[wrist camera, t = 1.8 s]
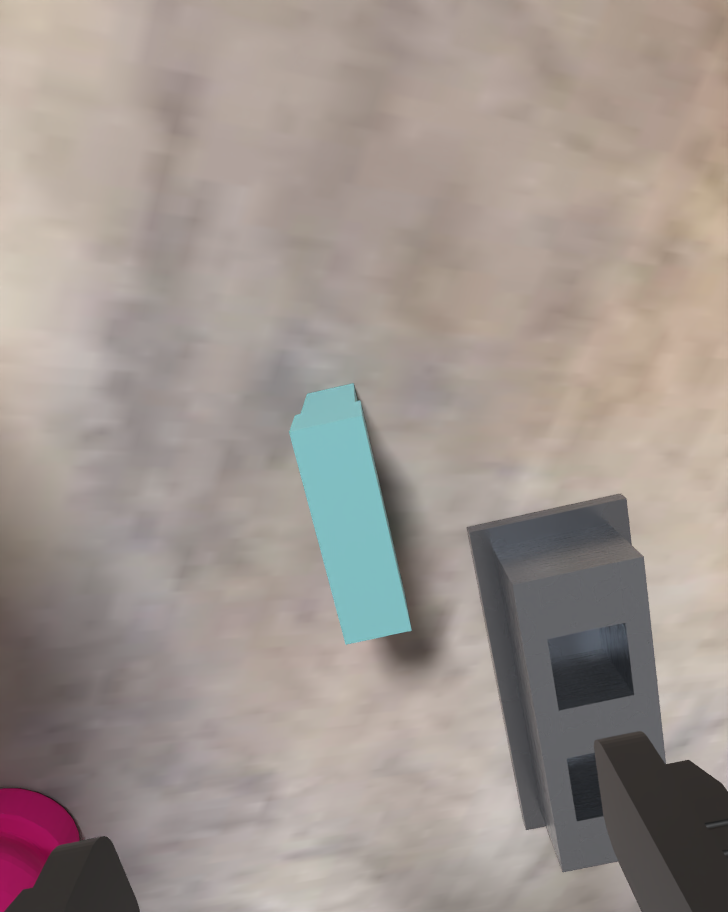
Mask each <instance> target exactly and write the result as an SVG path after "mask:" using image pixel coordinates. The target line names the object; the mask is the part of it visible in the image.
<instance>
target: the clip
mask: <svg viewBox="0 0 728 912" xmlns="http://www.w3.org/2000/svg"><path fill="white" fill-rule="evenodd" d="M289 433H290V437H291V441H292V445H293V448H294V452H295V456H296V460H297V463H298V467H299V471H300V475H301V478H302V482H303V486H304V490H305V493H306V497H307V501H308V505H309V508H310V512H311V516H312V520H313V524H314V527H315V531H316V535H317V539H318V542H319V546H320V550H321V554H322V557H323V561H324V565H325V569H326V572H327V576H328V580H329V584H330V587H331V591H332V595H333V599H334V602H335V606H336V610H337V614H338V617H339V621H340V625H341V629H342V632H343V636H344V640H345V644H346V645H347V644H351V643H356V642H361V641H365V640H370V639H375V638H379V637H384V636H389V635H393V634H398V633H403V632H408V631H412V630H411V624H410V619H409V613H408V608H407V603H406V597H405V593H404V588H403V584H402V580H401V575H400V571H399V567H398V562H397V558H396V554H395V549H394V545H393V540H392V536H391V532H390V527H389V523H388V519H387V514H386V510H385V506H384V501H383V497H382V493H381V488H380V484H379V480H378V475H377V471H376V466H375V462H374V458H373V453H372V449H371V445H370V440H369V436H368V432H367V427H366V423H365V419H364V414H363V410H362V406H361V401H358V400H357V396H356V392H355V387H354V383H352V384H348V385H344V386H339V387H335V388H330V389H326V390H322V391H317V392H313V393H309V394H307V396H306V399H305V402H304V405H303V408H302V411H301V414H299V415H295V417H294V420H293V423H292V425H291V428H290V431H289Z"/></svg>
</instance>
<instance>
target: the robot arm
mask: <svg viewBox="0 0 728 912" xmlns="http://www.w3.org/2000/svg"><path fill="white" fill-rule="evenodd" d="M594 752H595V759H596V766H597V773H598V781H599V788H600V795H601V802H602V809H603V816H604V820H605V824H606V828H607V832H608V835H609V838H610V841H611V844H612V847H613V850H614V852H615V855H616V857H617V859H618V862H619V864H620V866H621V868H622V870H623V872H624V875H625V877H626V879H627V881H628V883H629V885H630V887H631V890H632V892H633V894H634V896H635V898H636V900H637V903H638V905H639V907H640V909H641V911H642V912H728V791H727V790H726V789H725V787H724V786H723V784H722V783H720V782H719V781H718V780H716V779H715V778H713V777H712V776H711V775H709V774H708V773H706V772H705V771H704V770H702V769H701V768H699V767H698V766H697V765H695V764H694V763H692V762H691V761H690V760H685V761H680V762H675V763H670V764H665V763H664V761H663V760H662V758H661V757H660V755H659V754H658V752H657V750H656V749H655V747H654V746H653V744H652V743H651V741H650V740H649V738H648V737H647V736H646V734H645V733H643V732H642V731H637V732H632V733H627V734H622V735H617V736H612V737H607V738H602V739H597V740H595V741H594ZM4 912H140V910H139V906H138V903H137V900H136V897H135V895H134V893H133V890H132V888H131V886H130V883H129V881H128V878H127V876H126V874H125V871H124V869H123V867H122V864H121V862H120V859H119V857H118V855H117V852H116V850H115V848H114V845H113V843H112V841H111V840H110V839H109V838H108V837H105V836H103V837H97V838H92V839H87V840H82V841H77V842H72V843H67V844H62V845H59V846H57V847H56V848H55V849H54V850H53V851H52V852H51V854H50V855H49V857H48V859H47V861H46V863H45V865H44V867H43V869H42V871H41V873H40V874H39V876H38V878H37V880H36V882H35V884H34V886H33V888H28V889H23V890H22V891H21V892H20V894H19V895H18V896H17V897H16V898H15V899H14V901H13V902H12V903H11V904H10V905H9V906H8V907H7V909H6V910H5V911H4Z"/></svg>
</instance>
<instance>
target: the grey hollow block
mask: <svg viewBox="0 0 728 912" xmlns="http://www.w3.org/2000/svg"><path fill="white" fill-rule="evenodd" d="M467 532H468V537H469V542H470V547H471V553H472V558H473V563H474V568H475V573H476V579H477V584H478V589H479V594H480V599H481V605H482V610H483V615H484V620H485V625H486V631H487V636H488V641H489V646H490V651H491V657H492V662H493V667H494V672H495V677H496V683H497V688H498V693H499V698H500V703H501V709H502V714H503V719H504V724H505V729H506V735H507V740H508V745H509V750H510V755H511V761H512V766H513V771H514V776H515V781H516V787H517V792H518V797H519V802H520V807H521V813H522V818H523V822H524V825H525V828H526V830H529V829H534V828H539V827H544V826H546V828H547V830H548V833H549V836H550V839H551V841H552V844H553V847H554V850H555V852H556V855H557V858H558V861H559V863H560V866H561V869H562V872H567V871H572V870H577V869H582V868H587V867H592V866H597V865H602V864H607V863H612V862H617V861H618V859H617V857H616V855H615V852H614V850H613V847H612V844H611V841H610V838H609V835H608V832H607V828H606V824H605V820H604V816H603V809H602V802H601V795H600V788H599V781H598V773H597V766H596V759H595V752H594V741H595V740H597V739H602V738H607V737H612V736H617V735H622V734H627V733H632V732H637V731H642V732H643V733H645V734H646V736H647V737H648V738H649V740H650V741H651V743H652V744H653V746H654V747H655V749H656V750H657V752H658V754H659V755H660V757H661V758H662V760H663V761H664V763H665V764H666V760H665V750H664V741H663V732H662V723H661V713H660V704H659V695H658V685H657V676H656V667H655V658H654V648H653V639H652V630H651V620H650V611H649V602H648V593H647V583H646V574H645V565H644V556H642V555H641V554H640V553H639V552H638V551H637V550H636V549H635V548H634V547H633V546H632V544H631V535H630V526H629V518H628V509H627V500H626V498H625V497H624V496H623V495H622V494H617V495H612V496H608V497H603V498H599V499H594V500H589V501H585V502H580V503H576V504H571V505H566V506H562V507H557V508H553V509H548V510H544V511H539V512H534V513H530V514H525V515H521V516H516V517H512V518H507V519H502V520H498V521H493V522H489V523H484V524H480V525H475V526H470V527H467Z"/></svg>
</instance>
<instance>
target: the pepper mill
mask: <svg viewBox="0 0 728 912" xmlns="http://www.w3.org/2000/svg"><path fill="white" fill-rule="evenodd" d="M77 841H80V840H79V832H78V830H77V827H76V825H75V823H74V820H73V819H72V817H71V816H70V815H69V814H68V813H67V811H66V810H65V809H64V808H63V807H62V806H61V805H59V804H58V803H56V802H55V801H54V800H52V799H50V798H48V797H46V796H44V795H42V794H40V793H37V792H33V791H30V790H25V789H21V788H2V789H0V912H4V911H5V910H6V909H7V907H8V906H9V905H10V904H11V903H12V902H13V901H14V899H15V898H16V897H17V896H18V895H19V894H20V892H21V891H22V890H23V889H28V888H33V886H34V884H35V882H36V880H37V878H38V876H39V874H40V873H41V871H42V869H43V867H44V865H45V863H46V861H47V859H48V857H49V855H50V854H51V852H52V851H53V850H54V849H55V848H56V847H57V846H59V845H62V844H67V843H72V842H77Z"/></svg>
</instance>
